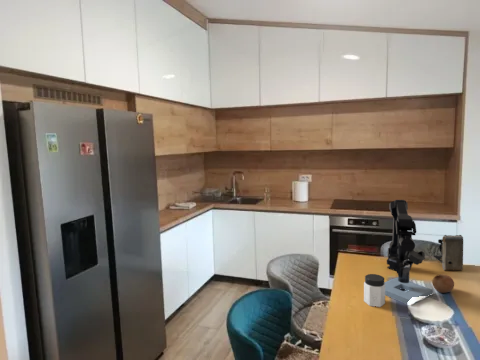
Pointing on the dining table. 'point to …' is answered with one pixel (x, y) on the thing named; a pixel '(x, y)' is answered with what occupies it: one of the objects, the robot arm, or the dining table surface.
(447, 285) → the onion
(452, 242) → the vintage camera
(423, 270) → the dining table surface
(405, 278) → the lens
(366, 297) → the jar
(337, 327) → the dining table surface
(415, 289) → the mount block
